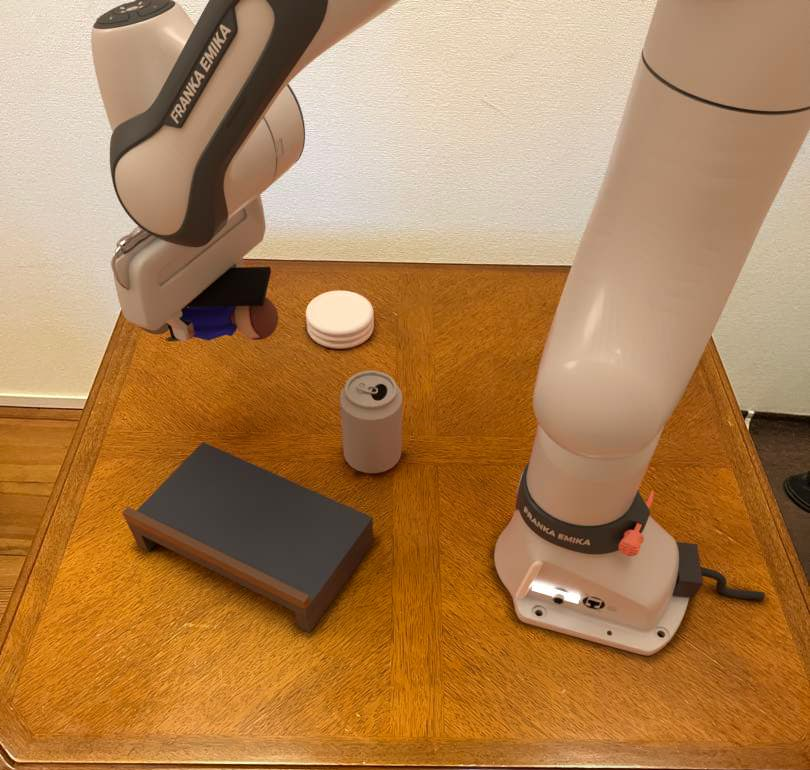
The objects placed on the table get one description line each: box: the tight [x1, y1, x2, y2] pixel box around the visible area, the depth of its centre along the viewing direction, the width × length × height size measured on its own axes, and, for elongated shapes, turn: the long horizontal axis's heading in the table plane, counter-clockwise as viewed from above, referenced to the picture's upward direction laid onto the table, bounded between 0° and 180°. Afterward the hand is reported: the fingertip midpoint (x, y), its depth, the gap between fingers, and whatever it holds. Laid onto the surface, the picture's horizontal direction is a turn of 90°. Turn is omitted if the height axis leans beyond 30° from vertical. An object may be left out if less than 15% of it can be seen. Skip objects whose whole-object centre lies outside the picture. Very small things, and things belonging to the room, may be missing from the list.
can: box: [339, 370, 403, 474], centre depth 91 cm, size 8×8×12 cm
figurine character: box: [138, 266, 279, 342], centre depth 83 cm, size 7×8×15 cm
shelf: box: [121, 441, 374, 634], centre depth 85 cm, size 24×14×7 cm, turn 62°
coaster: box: [305, 290, 375, 350], centre depth 110 cm, size 10×10×4 cm
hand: (210, 315), depth 83 cm, fingers closed on figurine character, 7 cm apart
